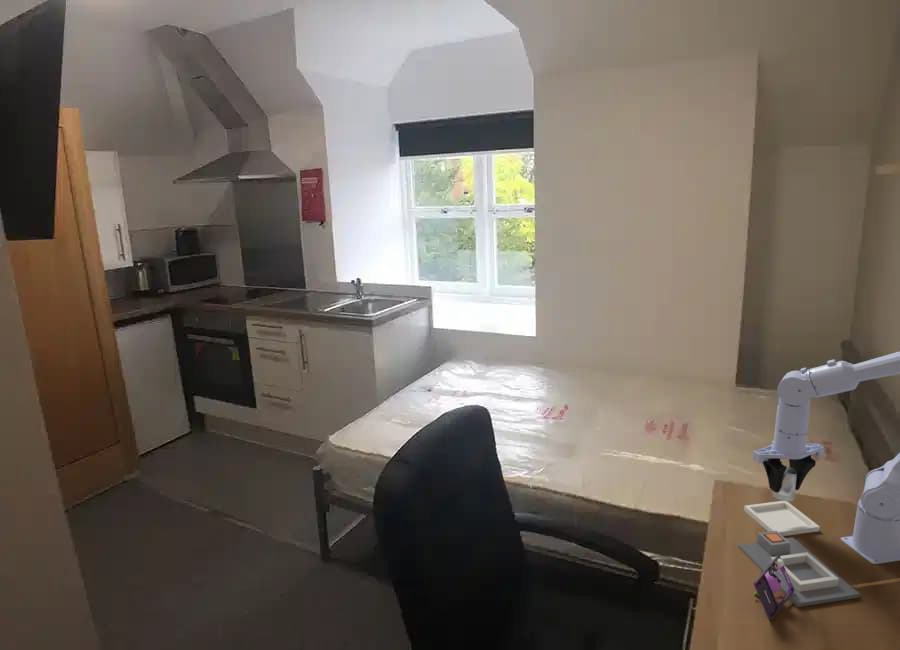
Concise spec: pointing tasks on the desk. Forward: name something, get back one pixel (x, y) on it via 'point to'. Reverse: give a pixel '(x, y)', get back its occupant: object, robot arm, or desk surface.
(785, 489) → the cylinder
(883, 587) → the desk surface
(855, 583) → the desk surface
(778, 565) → the eggplant monster toy
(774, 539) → the button
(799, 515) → the tray
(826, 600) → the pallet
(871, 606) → the desk surface
